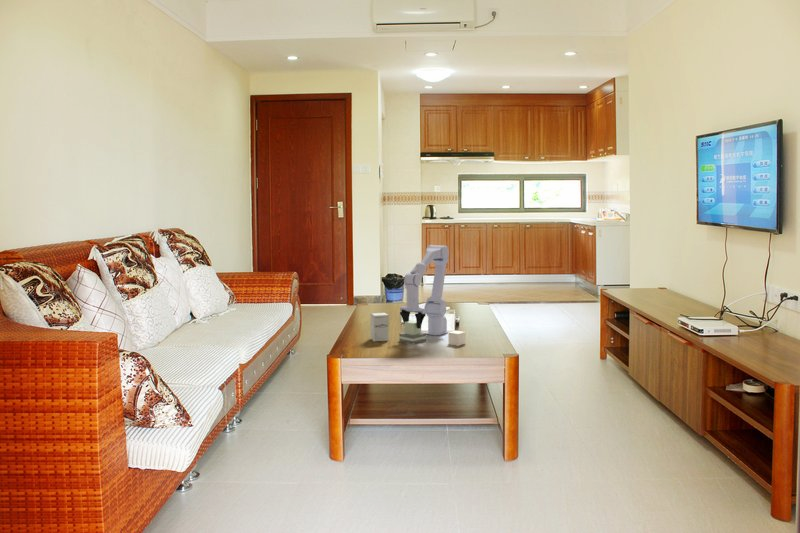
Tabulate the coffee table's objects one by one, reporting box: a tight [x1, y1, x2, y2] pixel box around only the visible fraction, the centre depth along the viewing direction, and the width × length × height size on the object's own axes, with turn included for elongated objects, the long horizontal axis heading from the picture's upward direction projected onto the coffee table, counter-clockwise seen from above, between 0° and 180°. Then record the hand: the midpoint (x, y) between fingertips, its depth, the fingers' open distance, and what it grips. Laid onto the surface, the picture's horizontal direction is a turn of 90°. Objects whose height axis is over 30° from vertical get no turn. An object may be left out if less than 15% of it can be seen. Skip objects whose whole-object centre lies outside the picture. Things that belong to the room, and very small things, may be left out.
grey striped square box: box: [398, 331, 427, 345], centre depth 323 cm, size 9×9×4 cm
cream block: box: [448, 330, 466, 347], centre depth 316 cm, size 6×6×6 cm
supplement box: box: [370, 312, 390, 343], centre depth 325 cm, size 7×7×13 cm
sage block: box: [404, 319, 422, 335], centre depth 322 cm, size 6×6×6 cm
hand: (412, 327), depth 322 cm, fingers open, 7 cm apart
